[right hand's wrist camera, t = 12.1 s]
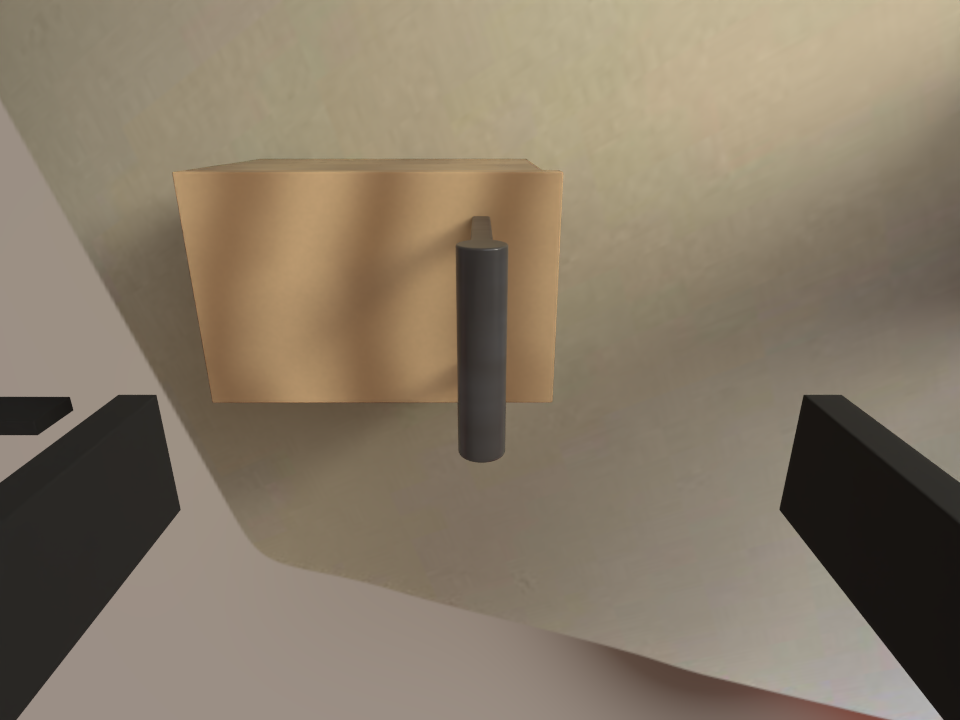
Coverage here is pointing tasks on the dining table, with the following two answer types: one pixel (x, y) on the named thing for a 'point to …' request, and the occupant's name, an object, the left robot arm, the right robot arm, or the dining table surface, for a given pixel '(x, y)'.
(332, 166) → the chest
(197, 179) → the lid
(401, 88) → the dining table surface
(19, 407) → the left robot arm
